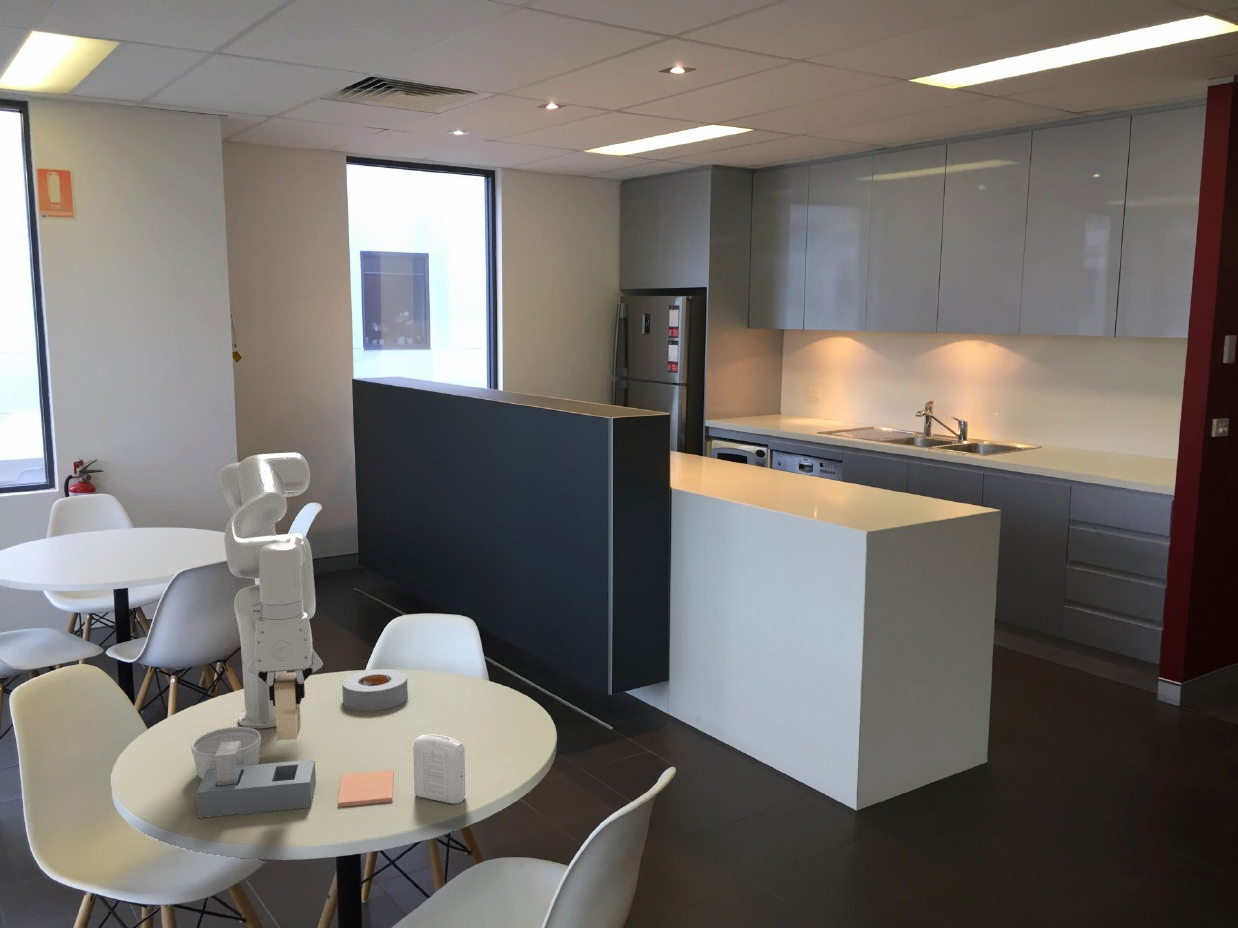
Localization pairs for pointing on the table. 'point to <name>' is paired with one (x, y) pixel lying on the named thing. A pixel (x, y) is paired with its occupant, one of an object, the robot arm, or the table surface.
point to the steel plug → (229, 763)
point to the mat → (366, 788)
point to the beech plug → (286, 707)
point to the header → (259, 789)
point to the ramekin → (210, 742)
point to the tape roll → (375, 690)
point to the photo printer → (439, 768)
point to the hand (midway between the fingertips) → (287, 701)
